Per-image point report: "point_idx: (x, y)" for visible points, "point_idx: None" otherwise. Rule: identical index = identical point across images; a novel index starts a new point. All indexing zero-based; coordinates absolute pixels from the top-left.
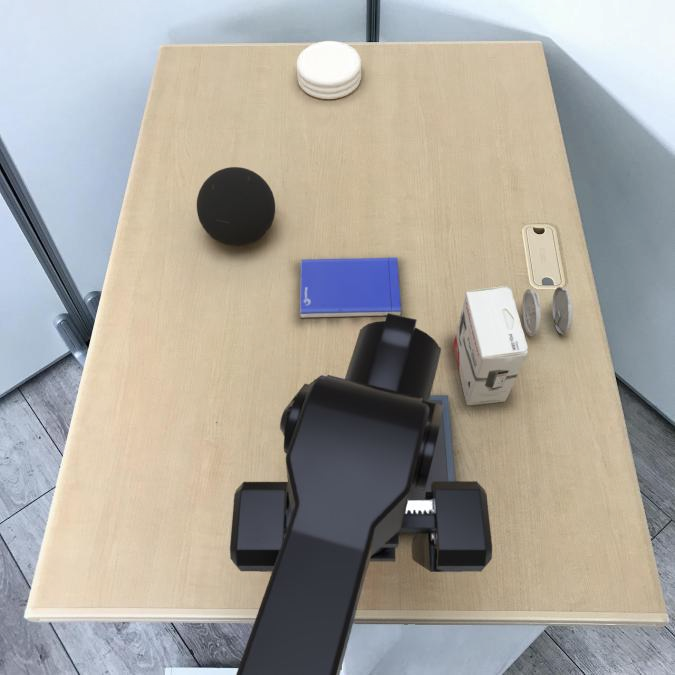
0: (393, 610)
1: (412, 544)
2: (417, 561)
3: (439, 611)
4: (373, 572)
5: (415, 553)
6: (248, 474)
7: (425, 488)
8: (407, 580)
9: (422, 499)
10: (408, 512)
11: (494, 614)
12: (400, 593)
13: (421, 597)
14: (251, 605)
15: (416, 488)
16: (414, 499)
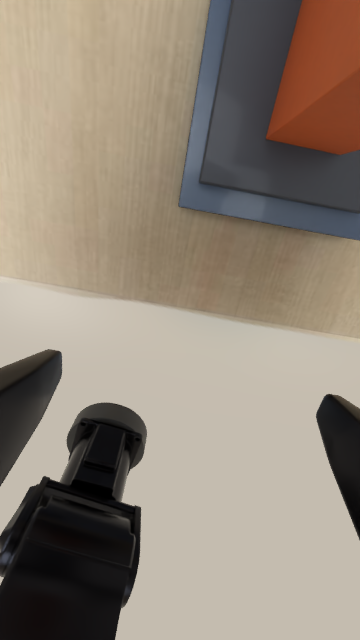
0: (226, 316)
1: (342, 422)
2: (353, 517)
3: (279, 326)
4: (213, 268)
5: (352, 481)
6: (24, 54)
7: (351, 166)
8: (254, 286)
9: (335, 188)
10: (295, 201)
11: (341, 339)
12: (240, 299)
13: (264, 308)
14: (51, 281)
15: (334, 162)
16: (321, 186)
